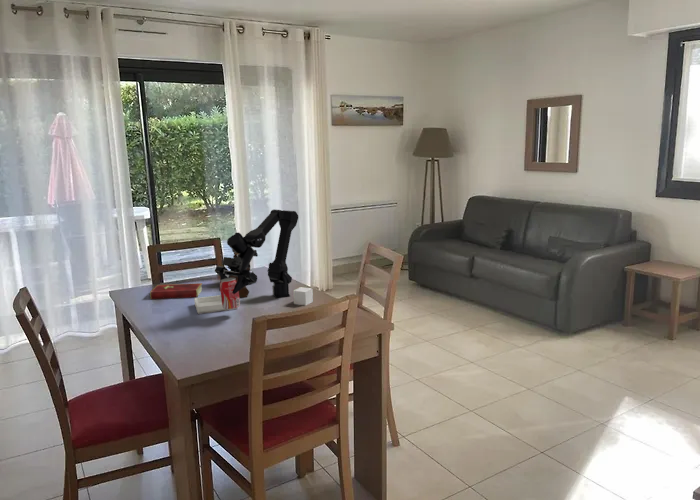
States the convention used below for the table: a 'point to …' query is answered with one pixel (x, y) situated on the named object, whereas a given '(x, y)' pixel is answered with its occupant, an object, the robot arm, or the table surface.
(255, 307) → the table surface
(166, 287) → the hardcover book
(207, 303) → the tray
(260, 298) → the table surface
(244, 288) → the bolt
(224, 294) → the soda can
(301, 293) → the white cube
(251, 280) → the robot arm
